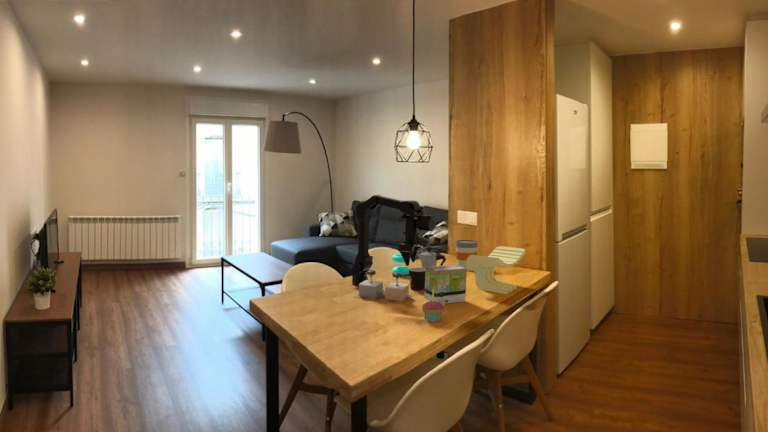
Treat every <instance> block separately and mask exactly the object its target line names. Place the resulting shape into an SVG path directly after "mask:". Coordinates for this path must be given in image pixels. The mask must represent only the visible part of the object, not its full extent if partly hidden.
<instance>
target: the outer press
mask: <svg viewBox="0 0 768 432" xmlns="http://www.w3.org/2000/svg"><path fill="white" fill-rule="evenodd" d="M409 286H410V283H402V282H398V286H396V282H390V283H388V284H386V285H385V286H384V292H385V299H387V300H396V301H404V300H405V299H406V298H407V297H409V295H410V294H409V293H410V291H409V289H410V287H409Z"/></svg>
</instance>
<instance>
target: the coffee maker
mask: <svg viewBox="0 0 768 432" xmlns="http://www.w3.org/2000/svg"><path fill="white" fill-rule="evenodd" d="M426 249H427V250H426V251H425V252H421V253H417V254H416V256H418V258H419V260H420V263H421V268H425V269H426V267H431V266H437V261H440V260H441V261H442V262H441V263H440V264H439V266H442V265H444V264H445V262H446V261H447V258H446V257H445V255H444V254H441V253H439V252H437V253H436V252H433V251H432V246H427V247H426Z"/></svg>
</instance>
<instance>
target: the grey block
mask: <svg viewBox="0 0 768 432" xmlns="http://www.w3.org/2000/svg"><path fill="white" fill-rule="evenodd" d="M383 289H384V281H381V280H372V283H370V279H368V280H365V281H363V282H362V283H360V284H359V286H358V294H359V296H360V297H369V298H377V297H379V296H380V295H382V294H383V292H384V290H383Z"/></svg>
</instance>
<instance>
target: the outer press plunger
mask: <svg viewBox="0 0 768 432" xmlns="http://www.w3.org/2000/svg"><path fill="white" fill-rule="evenodd" d="M391 274H392V278H395V283H396V286H398V283H399V278H402V277H403V275H402V273H391Z"/></svg>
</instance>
